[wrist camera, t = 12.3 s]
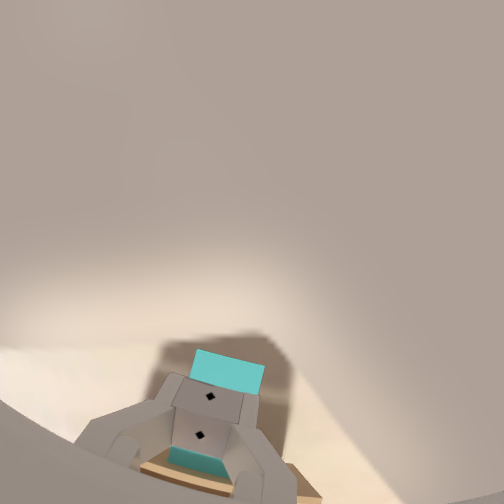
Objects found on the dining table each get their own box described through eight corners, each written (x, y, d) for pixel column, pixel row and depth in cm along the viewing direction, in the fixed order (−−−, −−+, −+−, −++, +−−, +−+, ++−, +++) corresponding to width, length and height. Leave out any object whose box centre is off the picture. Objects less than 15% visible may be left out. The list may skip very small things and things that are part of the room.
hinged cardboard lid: (81, 441, 17) (114, 320, 21) (127, 426, 28) (151, 342, 31) (320, 505, 17) (352, 380, 20) (291, 469, 27) (312, 383, 31)
